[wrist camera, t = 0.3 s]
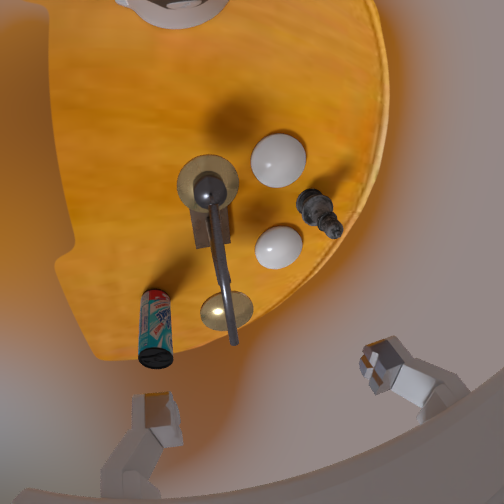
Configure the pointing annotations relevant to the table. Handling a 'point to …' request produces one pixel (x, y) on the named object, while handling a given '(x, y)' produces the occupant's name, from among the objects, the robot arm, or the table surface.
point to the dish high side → (278, 247)
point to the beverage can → (155, 330)
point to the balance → (214, 235)
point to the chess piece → (319, 212)
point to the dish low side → (278, 160)
